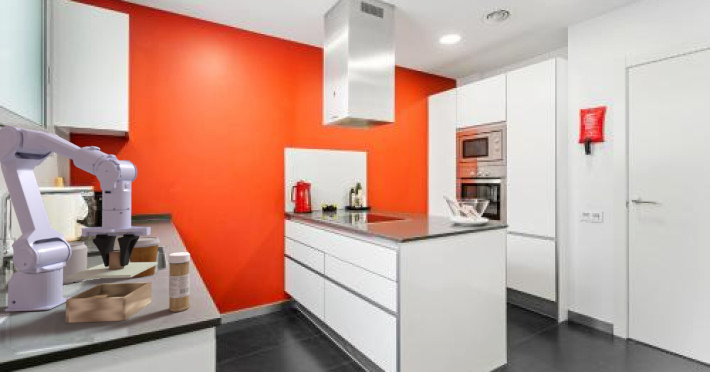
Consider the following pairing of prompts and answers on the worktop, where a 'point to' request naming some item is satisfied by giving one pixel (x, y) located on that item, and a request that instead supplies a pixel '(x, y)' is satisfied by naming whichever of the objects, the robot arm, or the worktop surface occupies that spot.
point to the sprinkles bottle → (179, 281)
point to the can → (75, 262)
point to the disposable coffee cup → (145, 253)
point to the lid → (113, 269)
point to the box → (108, 302)
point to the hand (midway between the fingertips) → (116, 265)
